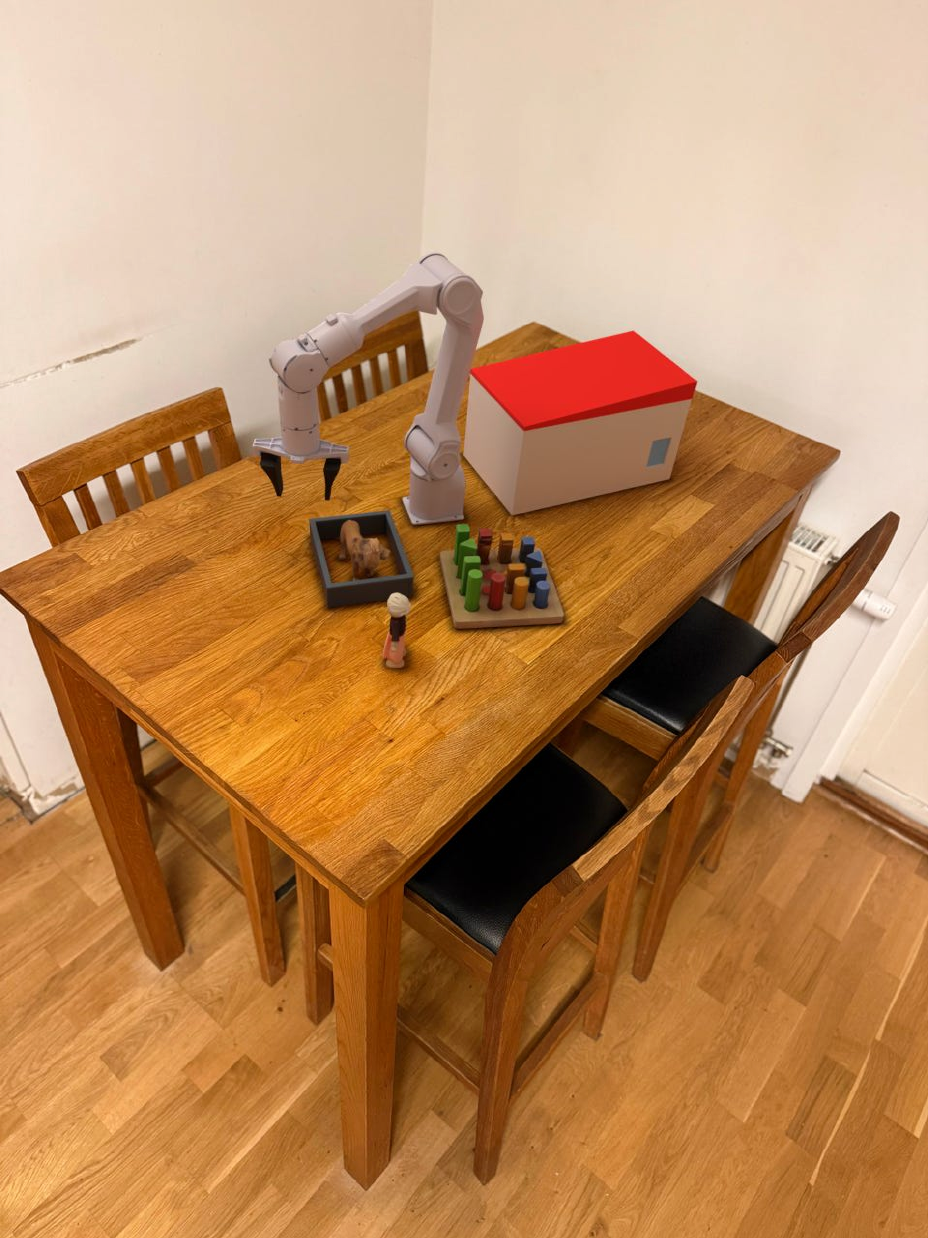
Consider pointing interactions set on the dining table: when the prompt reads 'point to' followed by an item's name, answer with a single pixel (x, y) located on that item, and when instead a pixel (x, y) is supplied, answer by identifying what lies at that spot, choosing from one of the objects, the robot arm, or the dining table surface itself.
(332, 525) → the crate
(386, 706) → the dining table surface
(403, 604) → the grandmother figurine
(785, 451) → the dining table surface
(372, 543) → the lion figurine
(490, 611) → the peg board
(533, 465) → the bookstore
